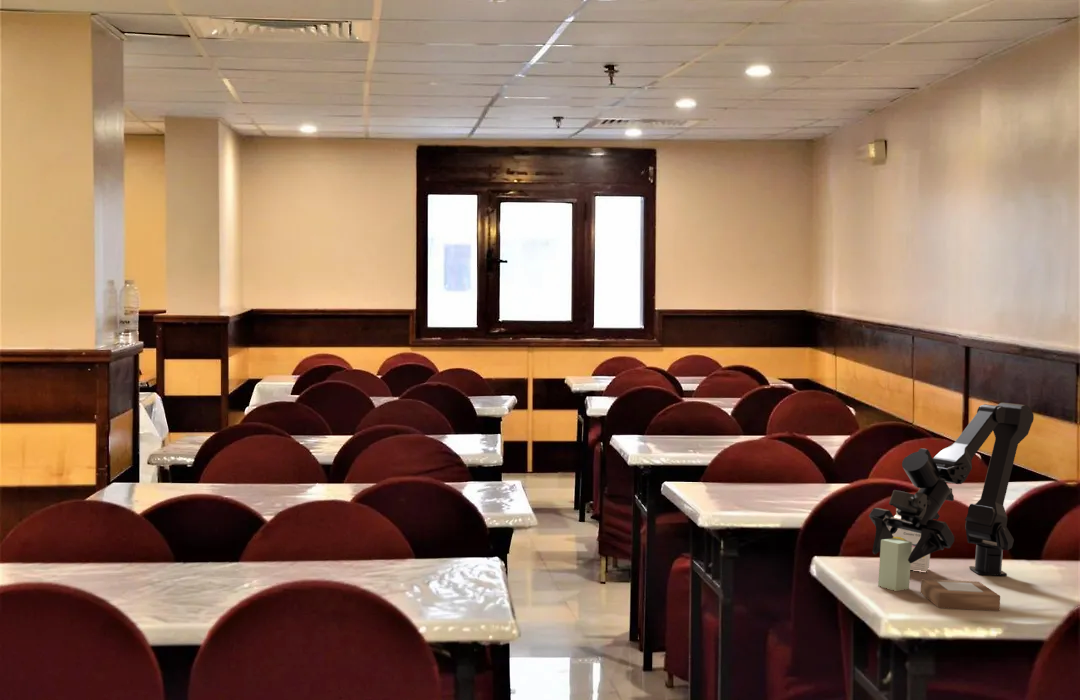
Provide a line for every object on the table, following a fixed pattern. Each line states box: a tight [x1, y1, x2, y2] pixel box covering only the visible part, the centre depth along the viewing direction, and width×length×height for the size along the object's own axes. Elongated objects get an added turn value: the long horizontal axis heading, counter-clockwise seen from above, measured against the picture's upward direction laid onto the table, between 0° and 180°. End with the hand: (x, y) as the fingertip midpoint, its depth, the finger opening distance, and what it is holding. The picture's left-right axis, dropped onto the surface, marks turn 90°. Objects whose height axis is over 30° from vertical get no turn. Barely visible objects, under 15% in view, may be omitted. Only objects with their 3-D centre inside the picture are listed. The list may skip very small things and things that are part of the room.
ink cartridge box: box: [892, 507, 931, 572], centre depth 276 cm, size 9×5×15 cm, turn 65°
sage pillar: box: [877, 538, 912, 592], centre depth 257 cm, size 4×4×10 cm
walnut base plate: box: [920, 578, 1001, 612], centre depth 247 cm, size 12×12×3 cm
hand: (891, 557), depth 256 cm, fingers open, 9 cm apart
